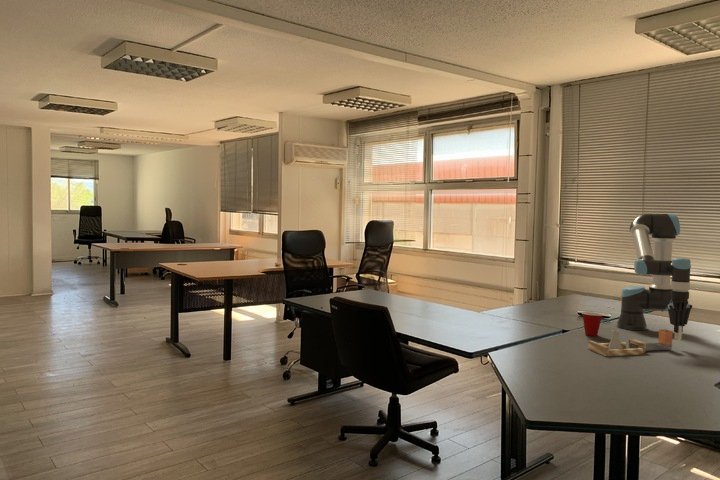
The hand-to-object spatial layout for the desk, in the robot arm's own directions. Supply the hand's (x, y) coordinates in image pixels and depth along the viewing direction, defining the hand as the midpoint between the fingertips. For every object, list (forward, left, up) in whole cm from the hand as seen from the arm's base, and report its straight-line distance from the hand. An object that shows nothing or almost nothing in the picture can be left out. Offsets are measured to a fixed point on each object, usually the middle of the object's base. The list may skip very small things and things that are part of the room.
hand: (677, 339), depth 261 cm
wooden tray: (+33, 0, -5) cm, 34 cm away
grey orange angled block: (+15, 0, -4) cm, 15 cm away
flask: (+34, 0, -5) cm, 35 cm away
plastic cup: (+24, -32, -5) cm, 40 cm away
